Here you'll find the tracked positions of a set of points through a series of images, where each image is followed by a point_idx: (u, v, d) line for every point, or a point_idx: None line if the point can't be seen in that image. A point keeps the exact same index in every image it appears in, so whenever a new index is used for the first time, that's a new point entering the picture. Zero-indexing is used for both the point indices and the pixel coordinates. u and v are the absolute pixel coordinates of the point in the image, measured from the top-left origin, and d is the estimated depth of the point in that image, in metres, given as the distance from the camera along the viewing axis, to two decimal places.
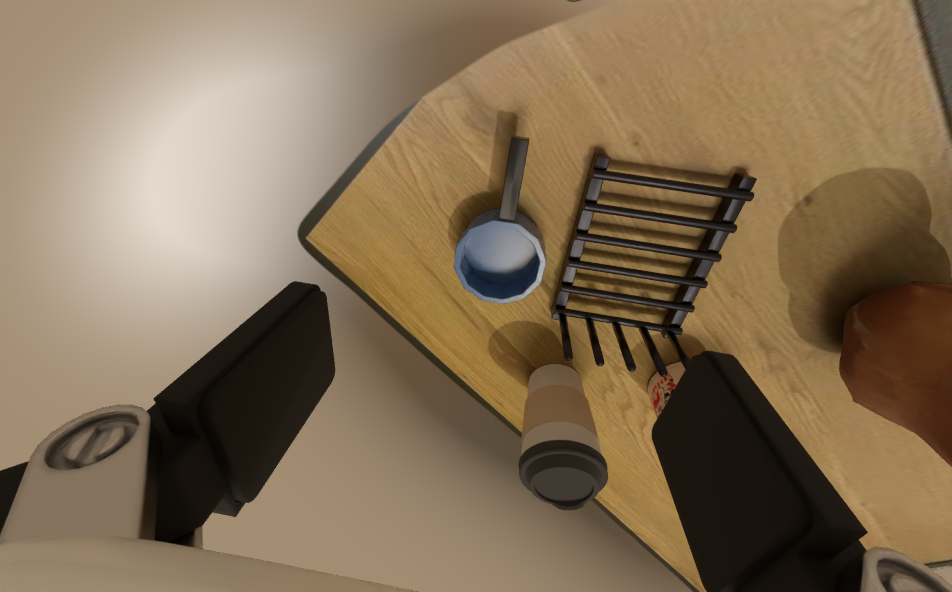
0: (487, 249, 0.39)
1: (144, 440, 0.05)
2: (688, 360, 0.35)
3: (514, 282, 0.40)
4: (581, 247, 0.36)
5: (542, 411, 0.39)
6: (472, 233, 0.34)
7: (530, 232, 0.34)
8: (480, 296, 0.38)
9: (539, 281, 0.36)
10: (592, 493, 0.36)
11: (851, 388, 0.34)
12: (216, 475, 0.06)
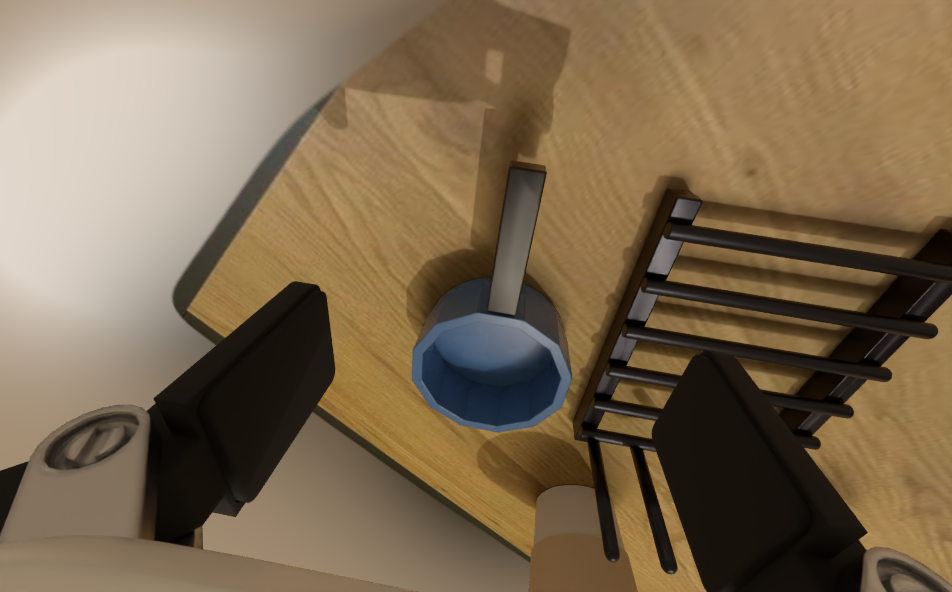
0: (470, 339, 0.23)
1: (144, 440, 0.05)
2: None
3: (515, 387, 0.25)
4: (631, 346, 0.21)
5: None
6: (439, 331, 0.19)
7: (544, 333, 0.18)
8: (458, 420, 0.23)
9: (558, 406, 0.21)
10: None
11: None
12: (216, 475, 0.06)
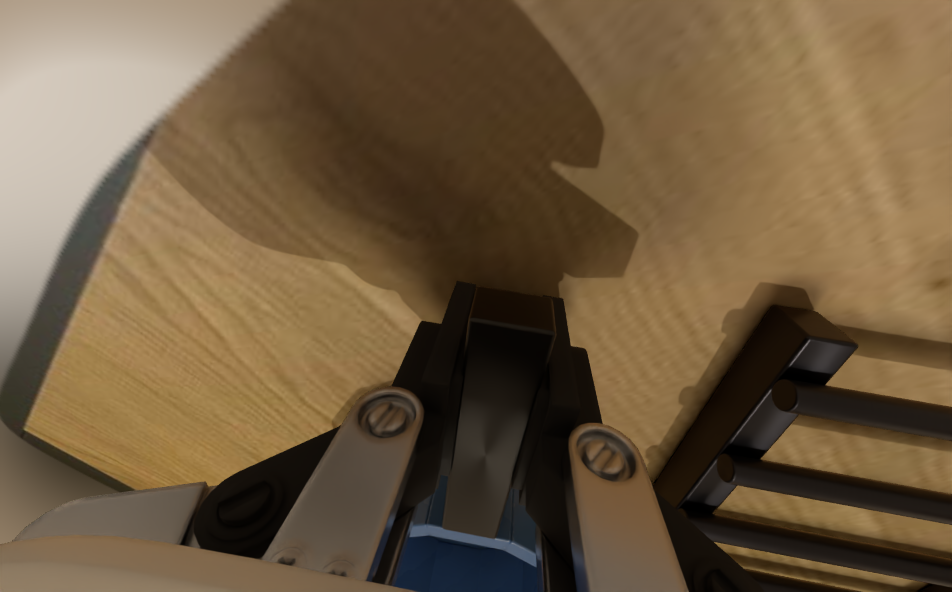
0: None
1: (413, 437, 0.06)
2: None
3: (503, 555, 0.16)
4: None
5: None
6: None
7: None
8: None
9: None
10: None
11: None
12: (442, 449, 0.07)
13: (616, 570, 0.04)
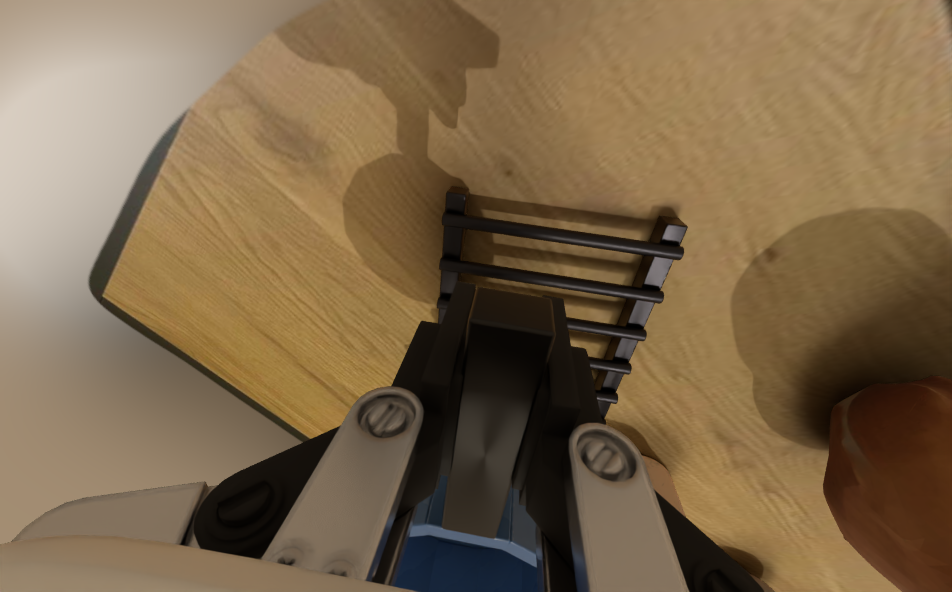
0: None
1: (413, 437, 0.06)
2: None
3: (502, 555, 0.17)
4: None
5: None
6: None
7: None
8: None
9: None
10: None
11: (840, 527, 0.23)
12: (441, 449, 0.07)
13: (617, 570, 0.04)
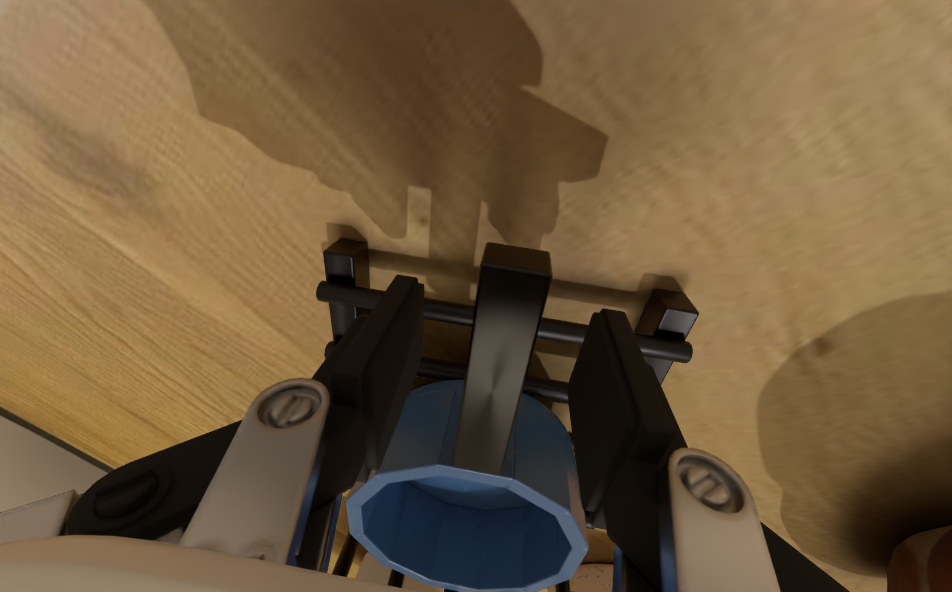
0: None
1: (322, 420, 0.06)
2: None
3: (505, 515, 0.18)
4: None
5: None
6: (383, 483, 0.12)
7: (547, 492, 0.12)
8: (422, 579, 0.16)
9: (567, 577, 0.14)
10: None
11: None
12: (362, 442, 0.07)
13: None
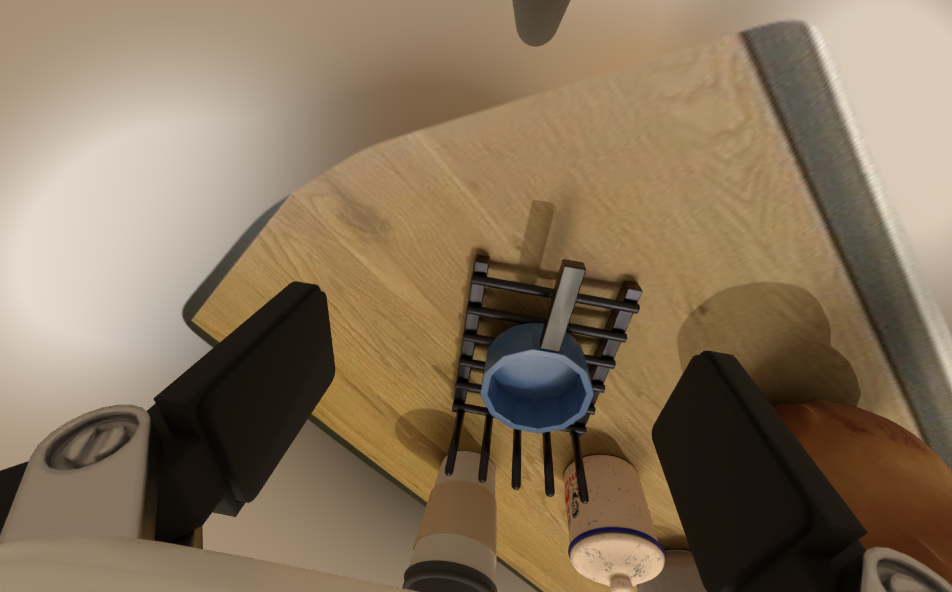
0: (517, 365, 0.33)
1: (144, 440, 0.05)
2: (582, 473, 0.33)
3: (548, 401, 0.34)
4: (472, 346, 0.34)
5: (435, 517, 0.36)
6: (505, 361, 0.28)
7: (577, 363, 0.28)
8: (510, 424, 0.32)
9: (583, 414, 0.30)
10: None
11: None
12: (216, 474, 0.06)
13: None
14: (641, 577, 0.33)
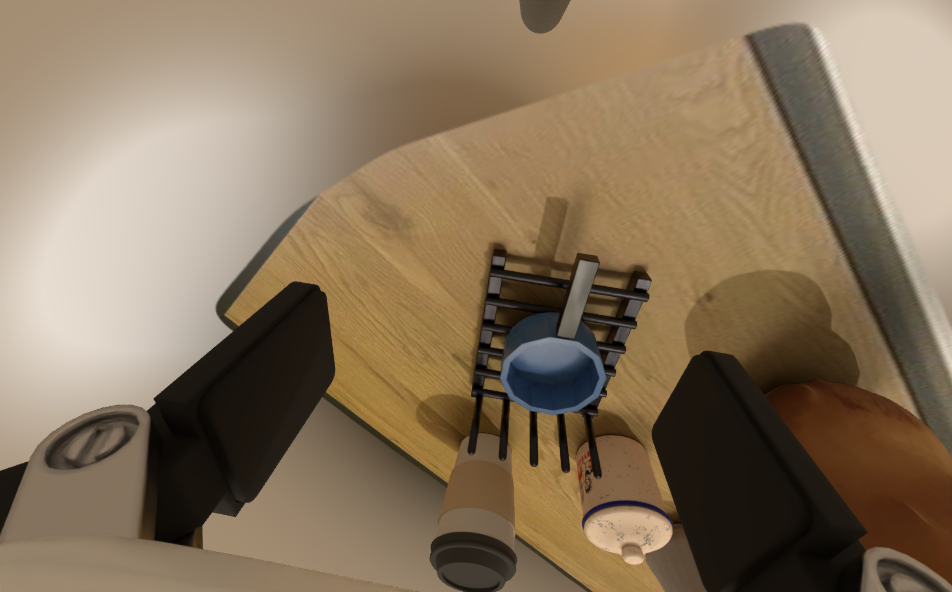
0: (533, 352, 0.35)
1: (144, 440, 0.05)
2: (595, 451, 0.35)
3: (562, 385, 0.36)
4: (490, 335, 0.36)
5: (457, 493, 0.39)
6: (524, 348, 0.30)
7: (590, 349, 0.30)
8: (527, 406, 0.34)
9: (596, 396, 0.32)
10: (499, 584, 0.35)
11: None
12: (216, 475, 0.06)
13: None
14: (651, 546, 0.36)
